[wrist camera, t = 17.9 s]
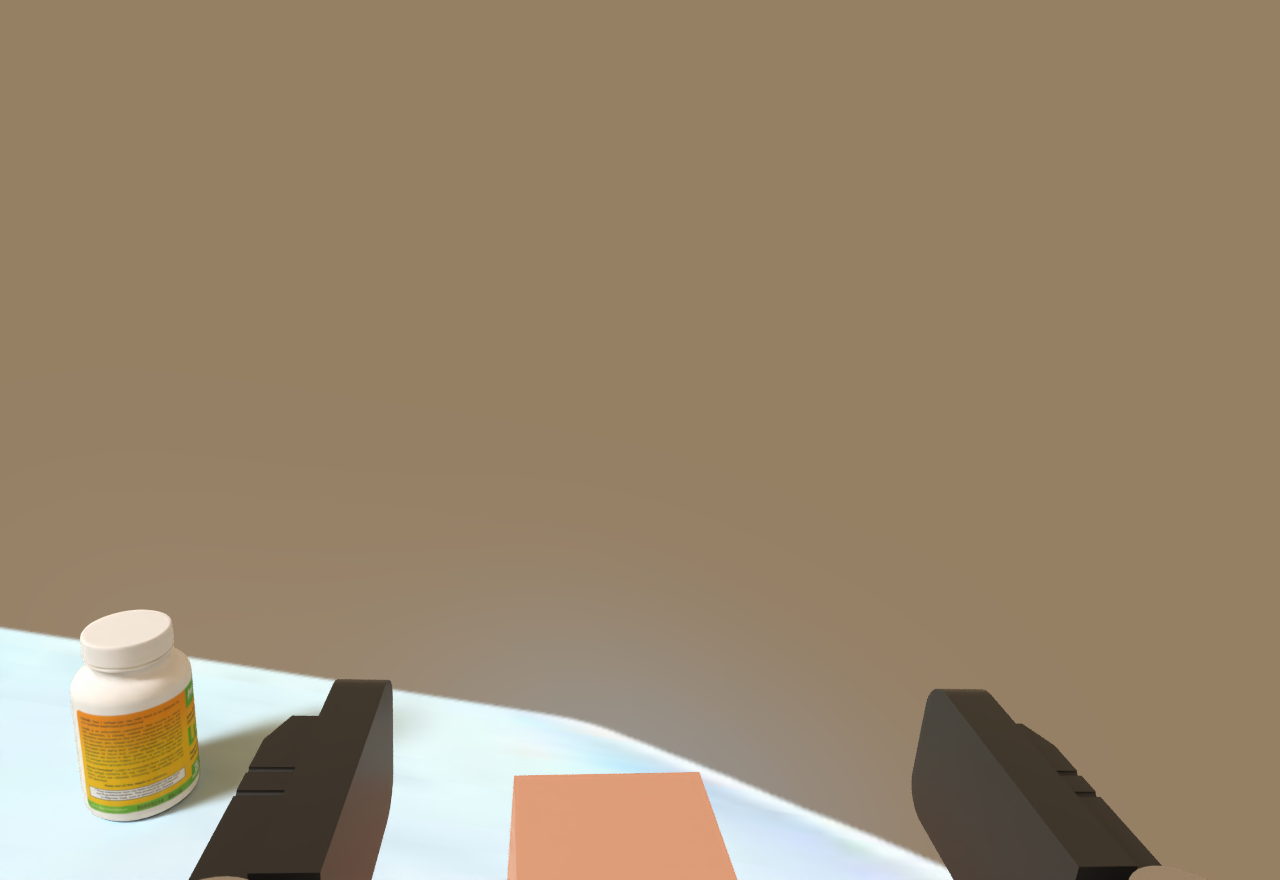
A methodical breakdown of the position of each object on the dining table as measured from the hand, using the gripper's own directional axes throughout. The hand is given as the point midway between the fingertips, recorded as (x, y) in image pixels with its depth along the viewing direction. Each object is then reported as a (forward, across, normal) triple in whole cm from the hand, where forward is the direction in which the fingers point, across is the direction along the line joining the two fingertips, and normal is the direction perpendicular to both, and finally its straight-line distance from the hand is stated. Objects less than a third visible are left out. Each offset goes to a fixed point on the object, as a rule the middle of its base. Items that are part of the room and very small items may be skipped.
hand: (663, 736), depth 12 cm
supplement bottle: (+30, +22, +25) cm, 45 cm away
